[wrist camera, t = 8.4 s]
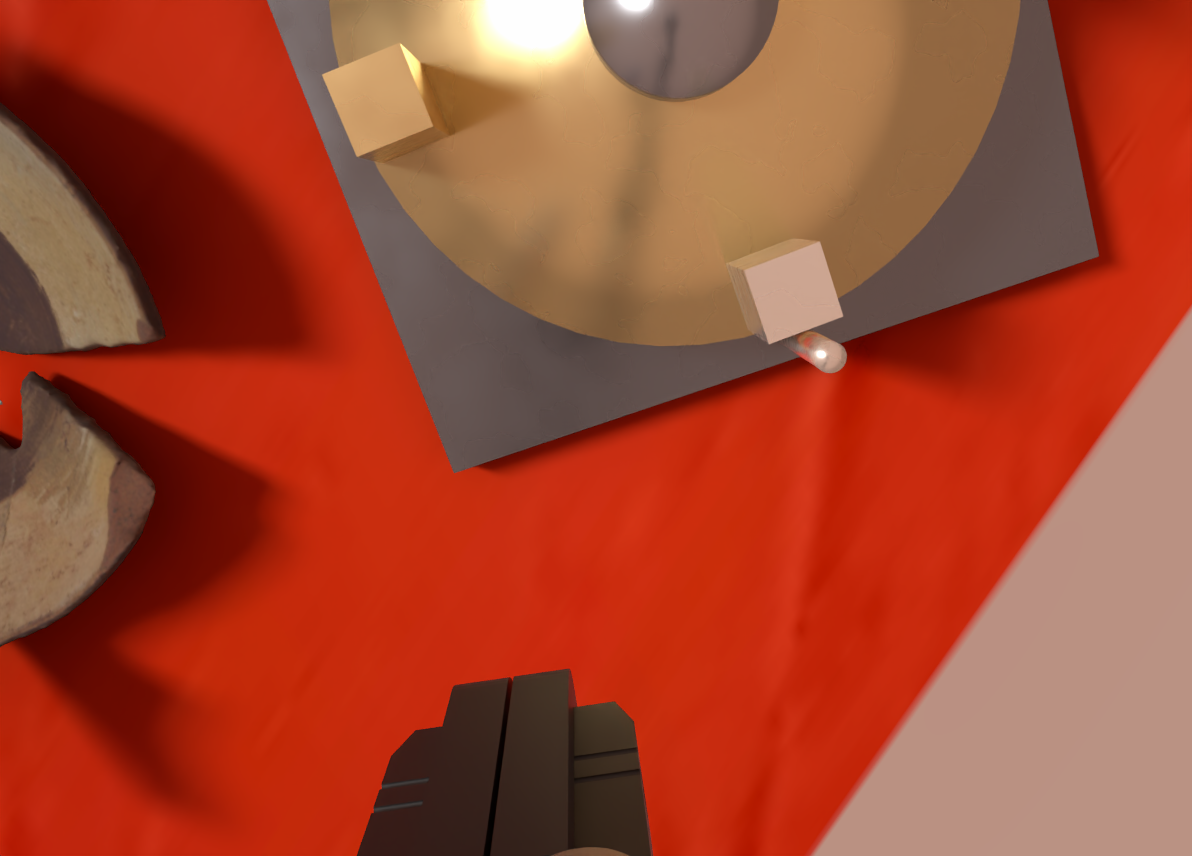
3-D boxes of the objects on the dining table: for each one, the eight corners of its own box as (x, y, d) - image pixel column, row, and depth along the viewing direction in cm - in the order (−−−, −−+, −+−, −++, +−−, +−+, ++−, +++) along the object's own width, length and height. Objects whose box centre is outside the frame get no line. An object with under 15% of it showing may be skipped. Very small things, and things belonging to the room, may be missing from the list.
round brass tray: (242, -189, 30) (150, -298, 23) (879, -466, 28) (966, -662, 22) (495, 417, 35) (477, 463, 28) (1047, 209, 33) (1158, 208, 27)
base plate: (1077, 254, 35) (1207, 265, 28) (459, 462, 37) (429, 524, 30) (919, -510, 29) (1031, -749, 22) (189, -224, 31) (68, -359, 24)
